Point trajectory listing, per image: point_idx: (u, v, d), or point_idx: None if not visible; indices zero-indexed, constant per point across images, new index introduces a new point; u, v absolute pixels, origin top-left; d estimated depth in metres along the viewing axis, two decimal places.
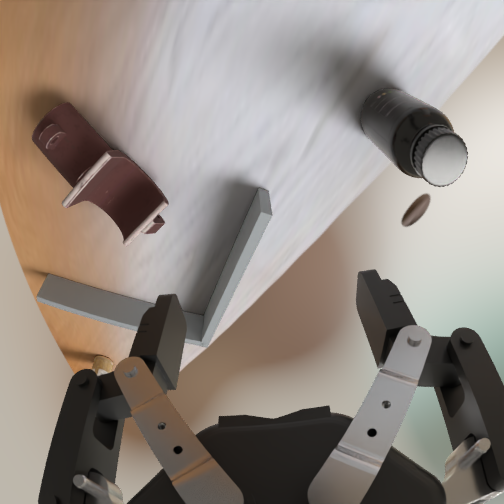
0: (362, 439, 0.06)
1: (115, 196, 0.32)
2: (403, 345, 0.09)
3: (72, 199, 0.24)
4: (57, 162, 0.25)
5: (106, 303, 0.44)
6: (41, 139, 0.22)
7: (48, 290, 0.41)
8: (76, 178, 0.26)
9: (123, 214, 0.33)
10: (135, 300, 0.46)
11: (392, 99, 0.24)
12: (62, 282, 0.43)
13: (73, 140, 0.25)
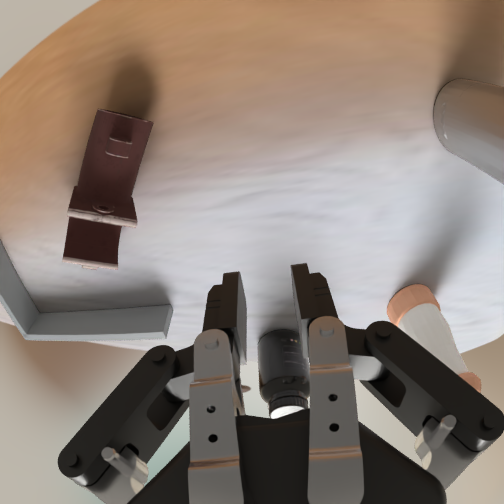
0: (328, 437, 0.06)
1: None
2: (319, 339, 0.10)
3: (78, 217, 0.23)
4: (94, 161, 0.24)
5: None
6: (112, 143, 0.22)
7: None
8: (92, 193, 0.25)
9: (79, 229, 0.31)
10: (7, 257, 0.36)
11: (297, 353, 0.39)
12: None
13: (124, 167, 0.25)
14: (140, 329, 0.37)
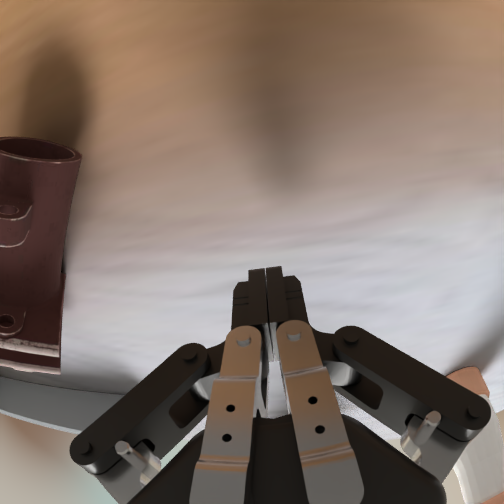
0: (316, 439, 0.06)
1: None
2: (287, 344, 0.10)
3: None
4: None
5: None
6: None
7: None
8: None
9: None
10: None
11: None
12: None
13: (29, 250, 0.12)
14: None
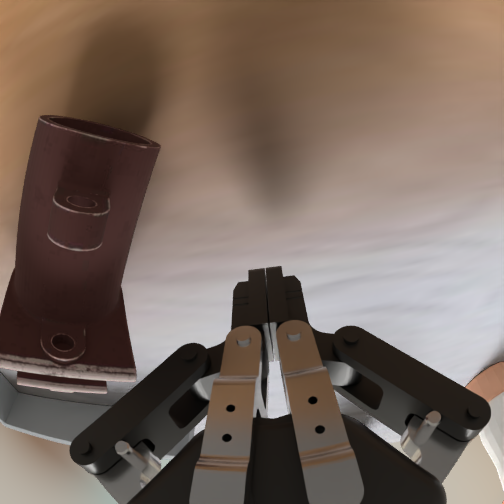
0: (316, 439, 0.06)
1: None
2: (287, 343, 0.10)
3: (15, 369, 0.09)
4: (33, 242, 0.10)
5: None
6: (58, 215, 0.08)
7: None
8: (38, 305, 0.11)
9: None
10: None
11: None
12: None
13: (97, 254, 0.11)
14: None
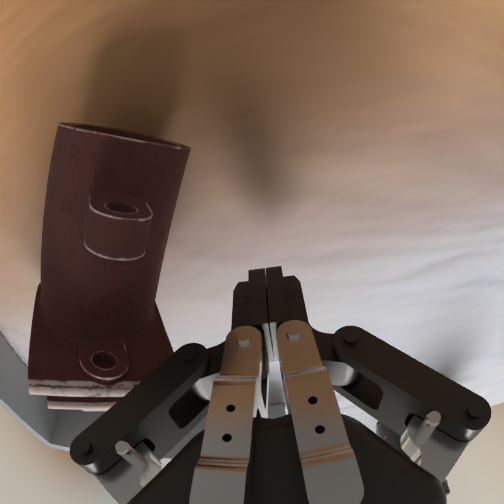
0: (316, 439, 0.06)
1: None
2: (287, 344, 0.10)
3: None
4: (63, 257, 0.10)
5: None
6: (98, 223, 0.08)
7: None
8: (72, 324, 0.11)
9: None
10: (2, 338, 0.21)
11: None
12: None
13: (135, 264, 0.11)
14: None
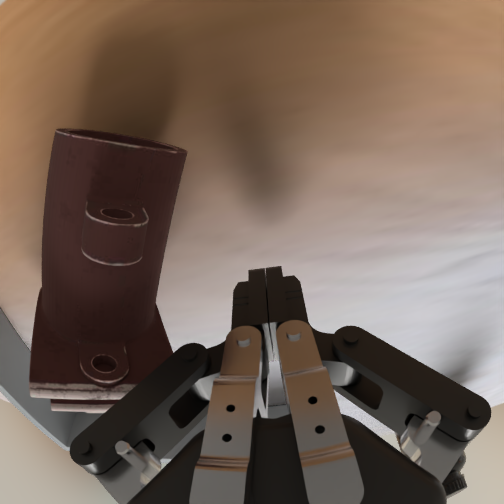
0: (316, 439, 0.06)
1: None
2: (287, 344, 0.10)
3: None
4: (63, 262, 0.10)
5: None
6: (94, 229, 0.08)
7: None
8: (73, 327, 0.11)
9: None
10: (18, 339, 0.21)
11: None
12: None
13: (134, 268, 0.11)
14: None
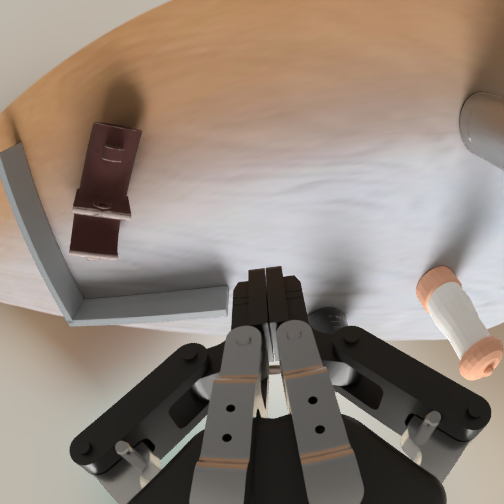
0: (316, 439, 0.06)
1: None
2: (287, 343, 0.10)
3: (81, 214, 0.28)
4: (93, 167, 0.29)
5: (37, 221, 0.36)
6: (107, 150, 0.27)
7: (10, 159, 0.30)
8: (92, 193, 0.29)
9: (83, 226, 0.35)
10: (55, 241, 0.40)
11: None
12: (24, 164, 0.33)
13: (118, 170, 0.30)
14: (201, 308, 0.41)
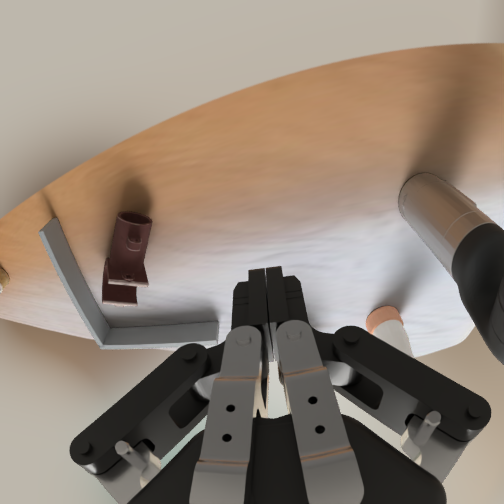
0: (316, 439, 0.06)
1: None
2: (287, 343, 0.10)
3: (114, 284, 0.43)
4: (120, 250, 0.44)
5: (74, 276, 0.51)
6: (130, 243, 0.42)
7: (51, 233, 0.45)
8: (120, 267, 0.45)
9: None
10: (87, 288, 0.55)
11: None
12: (61, 234, 0.48)
13: (138, 252, 0.45)
14: (199, 338, 0.56)
